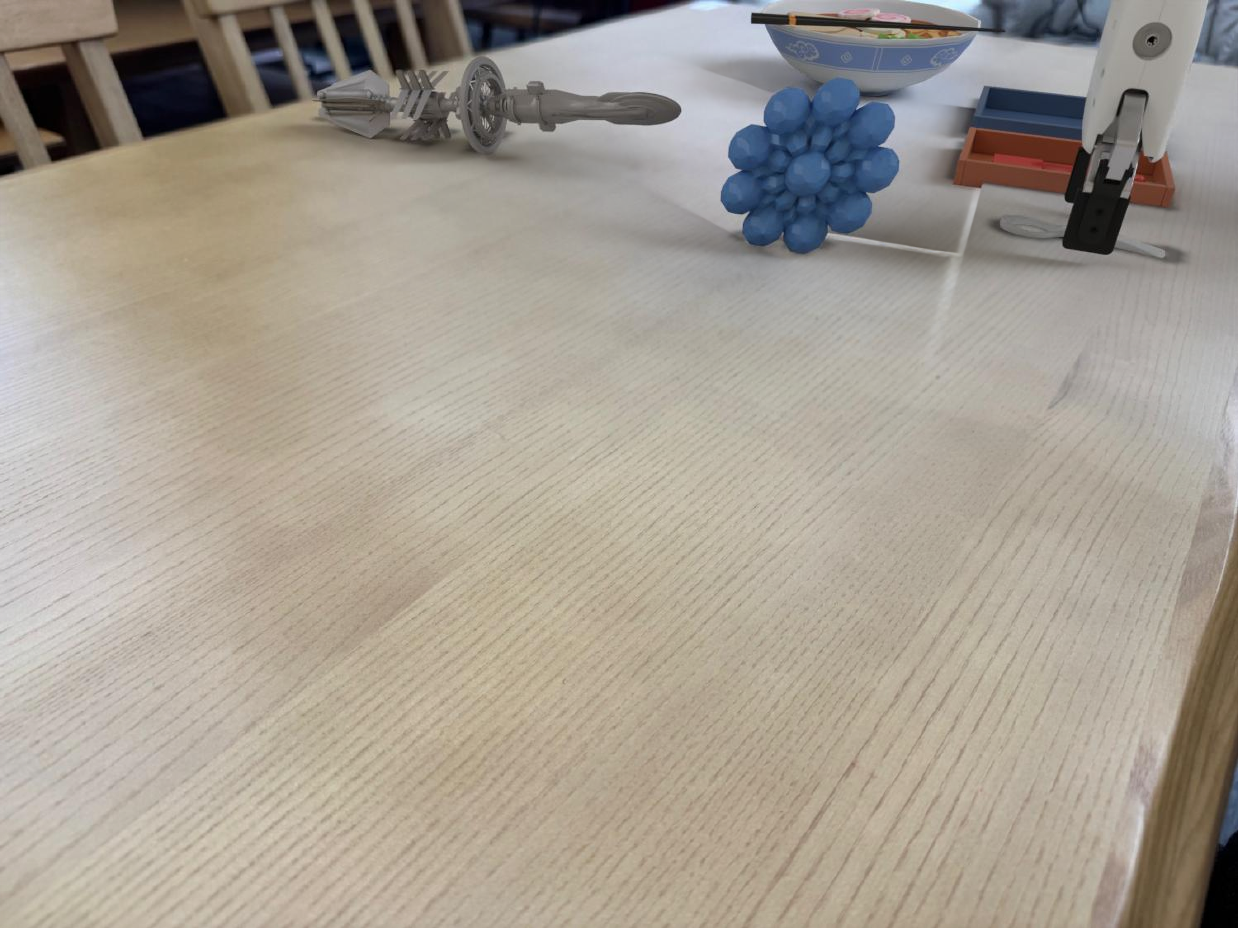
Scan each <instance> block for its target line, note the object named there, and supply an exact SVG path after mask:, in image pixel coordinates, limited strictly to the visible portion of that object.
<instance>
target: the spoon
mask: <svg viewBox="0 0 1238 928" xmlns="http://www.w3.org/2000/svg"><path fill="white" fill-rule="evenodd" d="M1015 225H1026V226H1033V227H1036V228H1040V229H1043V230H1045V231H1046V232H1042V231H1041V232H1039V231H1033V230H1028V229H1024V228H1021V227H1018V226H1015ZM999 226H1000V227H999V228H1001V229H1002V230H1004V231H1006V232H1009V233H1011V234H1014V235H1018V236H1020V237H1021V236H1022V237H1027V238H1035V239H1051V238H1063V236H1064V233H1065V230H1066V226H1067V224H1053V223H1050V222H1047V221H1045V220H1042V219H1040V218H1036V217H1032V216H1029V215H1023V214H1013V213H1011V214H1006V215H1003V216H1002V217H1001V219H1000V221H999ZM1114 249H1119V250H1123V251H1127V252H1133V253H1137V254H1142V255H1145V256H1150V257H1155V258H1161V259H1162V258H1165V256H1166V251H1165V249H1163V248H1161V247H1160V248H1159V247H1157V246H1154V245H1151V244H1148V243H1145V242H1143V241H1139V240H1136V239H1134V238H1130V237H1128V236H1125V235H1121V234H1119V235H1118V238H1117V241H1116V244H1115V246H1114Z"/></svg>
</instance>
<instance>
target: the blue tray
mask: <svg viewBox="0 0 1238 928" xmlns="http://www.w3.org/2000/svg"><path fill="white" fill-rule="evenodd" d="M1086 98H1087V96H1082V95H1081V96H1080V95H1073V94H1064V93H1063V94H1062V93H1056V92H1055V93H1054V92H1044V91H1037V90H1028V89H1027V90H1026V89H1019V88H1009V87H1002V86H1001V87H1000V86H992V85H991V86H990V85H983V88H982V90H981V94H980V96H979V100H978V101H977V104H976V105H977V106H976V109H975V110H974V114H973V117H972V121H971V126H970V127H974V128H982V129H990V130H998V131H1006V132H1015V133H1023V134H1031V135H1039V136H1047V137H1055V138H1063V139H1071V140H1079V141H1082V122H1083V115H1084V109H1085V103H1086Z"/></svg>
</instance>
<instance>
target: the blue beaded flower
mask: <svg viewBox="0 0 1238 928" xmlns="http://www.w3.org/2000/svg"><path fill="white" fill-rule="evenodd" d="M860 98H861V95H860V92H859V90H858V87H857V86H856V84H855V83H854V82H853V80H849V79H844V78H835V79H833V80H831V81H829V82H827V83H825V84H824V85H823V84H822V85H820V86H819V87H818V89H817V91H816V92H815V94H814V95H813V98H812V100H811V99H810V96H809V95H808V94H807V91H805V89H802V88H796V87H790V86H787V87H785V88H783V89H782V90H779V91H778V92H776V93H775V94H772V95H771V97H770V99H769V100H768V102H767V103H766V105H765V108H764V110H763V119H762V122H763V123H764V125H765V126H764V125H759V124H753V123H751V124H749V125H747V126H745V127H744V128H742V129H740V130H738V131H736V132H735V134H734V135H733V136H732V138H731V140H730V142H729V144H728V149H727V151H728V152H727V157H728V159H729V161H730V162H731V164H732V165H733V167H734V169H736V170H739V171H737V172H736V173H734V174H732V175H729V176H728V177H727V179H726V180H725V182H724V184H722V187H721V190H720V203H721V204H722V205H723V207H724V209H725V210H726V211H727V213H730V214H733V215H742V216H743V215H745V214H746V216H745V218H744V219H743V221H742V227H741V228H742V229H741V230H742V231H741V233H742V235H743V237H744V238H745V240H746V241H747V243H748V244H749V245H752V246H755V247H761V248H762V247H763V248H764V247H766V246H769V245H772V244H773V243H775V242H777V241H778V240H780V238H781V236H782V237H783V238H782V242H783V243H784V246H786V248H787V249H788V251H789V252H790V253H793V254H796V255H806V254H809V253H812V252H814V251H815V250H818V249H819V248H820V247H821V245H822V244H823V242H824V241H825V240H826V237H827V235H828V234H829V233H828V232H829V228H830V230H831V231H832V232H834V233H837V234H842V235H843V234H844V235H849V234H852V233H853V232H856V231H857V230H859V229H861V228H863V227H864V226H865V224H866V222H867V221H868V219H869V218H870V217H871V215H872V213H873V201H872V200H871V198H870V196H869V195H868V194H875V193H878V192H880V191H882V190H884V189H886V188H888V187H890V186H891V184H892V183H893V181H894V179H895V178H896V176H897V175H898V173H899V172H900V159H899V156H898V155H897V153H896V152H895V151H894V149H893V148H890V147H884V146H882V145H883V144H885V143H886V142H887V140H888V138H889V137H890V135H891V134H892V132H893V131H894V129H895V128H896V116H895V113H894V109H892V107H891V106H890V105H889V103H884V102H878V101H870V102H868V103H866V104H865V105H863V106H861V107H859V105H860V100H861V99H860Z"/></svg>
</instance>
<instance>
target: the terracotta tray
mask: <svg viewBox="0 0 1238 928" xmlns="http://www.w3.org/2000/svg"><path fill="white" fill-rule="evenodd" d="M1079 147H1083V146H1082V141H1079V140H1071V139H1063V138H1055V137H1047V136H1039V135H1031V134H1023V133H1015V132H1006V131H998V130H990V129H982V128H974V127H971V126H970V127H969V128H968V131H967V135H966V137H965V140H964V143H963V146H962V149H961V152H960V155H959V158H958V161H957V165H956V170H955V174H954V179H953V183H952V184H953V185H955V186H961V187H969V188H970V187H971V188H976V189H982V188H983V184H984V183H986V184H987V183H988V184H995V185H1002V186H1009V187H1018V188H1024V189H1031V190H1039V191H1044V192H1045V191H1046V192H1052V193H1060V194H1065V192H1066V189H1067V185H1068V182H1069V179H1070V175H1071V173H1070V172H1062V171H1055V170H1047V169H1040V168H1032V167H1025V166H1017V165H1009V164H1002V163H994V162H993V158H994V154H1002V155H1010V156H1017V157H1025V158H1033V159H1041V160H1043V162H1046V163H1054V164H1062V165H1069V166H1073V165H1074V162H1075V158H1076V155H1077V152H1078V148H1079ZM1135 174H1138V175H1142V176H1144V177H1145V180H1146V183H1145V182H1138V181H1133V185H1132V189H1131V192H1130V195H1131V199H1130V202H1129V203H1132V204H1133V203H1134V204H1138V205H1145V206H1154V207H1161V208H1170V205H1171V202H1172V200H1173V197H1174V194H1175V191H1176V186H1175V182H1174V178H1173V174H1172V169H1171V164H1170V159H1169V155H1168V151H1166V150H1165V152H1164V155H1163V157H1162V158H1161V159H1159V160H1158V161H1156V162H1149V160H1148V156H1144V154H1143V148H1141V154H1140V156H1139V160H1138V164H1137V168H1136V173H1135Z"/></svg>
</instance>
